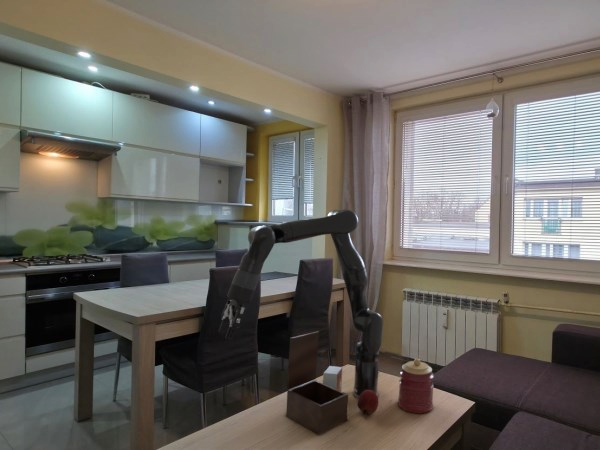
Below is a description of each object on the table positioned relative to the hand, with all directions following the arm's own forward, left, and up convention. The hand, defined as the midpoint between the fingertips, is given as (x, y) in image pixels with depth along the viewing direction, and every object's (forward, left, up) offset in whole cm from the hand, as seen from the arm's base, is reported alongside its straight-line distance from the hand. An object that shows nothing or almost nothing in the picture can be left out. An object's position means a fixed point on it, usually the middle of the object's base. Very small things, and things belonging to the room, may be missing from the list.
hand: (224, 336), depth 117 cm
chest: (-19, +25, -31) cm, 44 cm away
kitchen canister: (-39, +57, -31) cm, 75 cm away
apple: (-28, +41, -31) cm, 58 cm away
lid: (-22, +18, -12) cm, 31 cm away
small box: (-36, +25, -31) cm, 53 cm away
